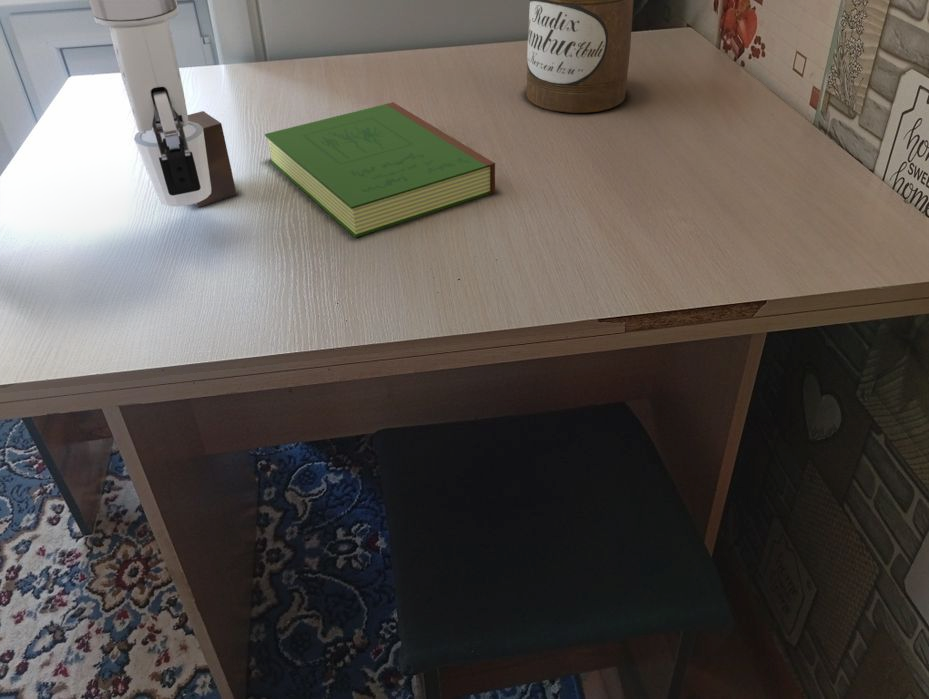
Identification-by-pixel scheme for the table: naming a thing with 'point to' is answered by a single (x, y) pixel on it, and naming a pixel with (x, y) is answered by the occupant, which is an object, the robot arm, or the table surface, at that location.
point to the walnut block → (215, 159)
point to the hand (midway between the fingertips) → (179, 176)
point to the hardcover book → (379, 167)
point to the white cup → (153, 167)
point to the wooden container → (578, 54)
